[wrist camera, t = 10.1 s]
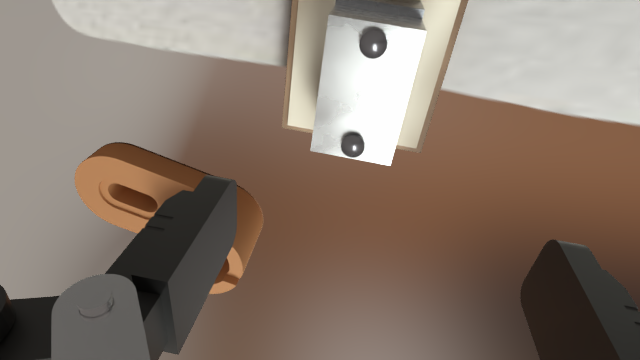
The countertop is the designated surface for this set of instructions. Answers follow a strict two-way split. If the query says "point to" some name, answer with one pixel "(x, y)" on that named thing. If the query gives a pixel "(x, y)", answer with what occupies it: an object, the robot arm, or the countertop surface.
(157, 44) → the countertop surface
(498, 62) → the countertop surface
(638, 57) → the countertop surface
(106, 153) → the bracket
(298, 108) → the stand
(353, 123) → the block
